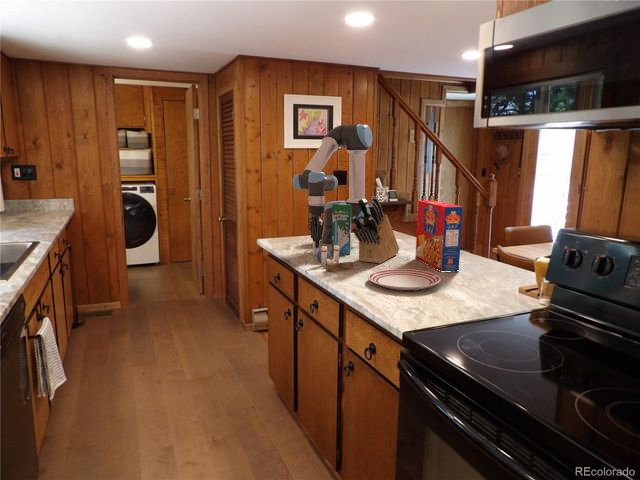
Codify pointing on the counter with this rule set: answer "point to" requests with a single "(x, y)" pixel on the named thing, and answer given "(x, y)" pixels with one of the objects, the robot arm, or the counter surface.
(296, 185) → the robot arm
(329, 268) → the brown wooden bar
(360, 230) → the knife block
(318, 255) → the ball
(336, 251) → the pin
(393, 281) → the dinner plate
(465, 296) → the counter surface
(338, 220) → the milk carton
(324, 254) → the pin
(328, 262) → the front pin
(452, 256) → the pasta box
